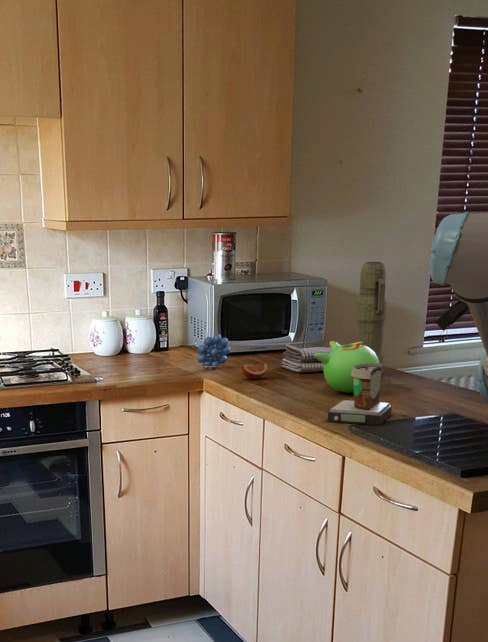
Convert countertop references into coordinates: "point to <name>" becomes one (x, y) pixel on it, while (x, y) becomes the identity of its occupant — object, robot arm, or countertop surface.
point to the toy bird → (344, 364)
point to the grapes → (213, 351)
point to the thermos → (372, 307)
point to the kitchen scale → (359, 413)
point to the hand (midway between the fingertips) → (443, 323)
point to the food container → (367, 385)
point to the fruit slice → (254, 370)
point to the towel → (303, 359)
